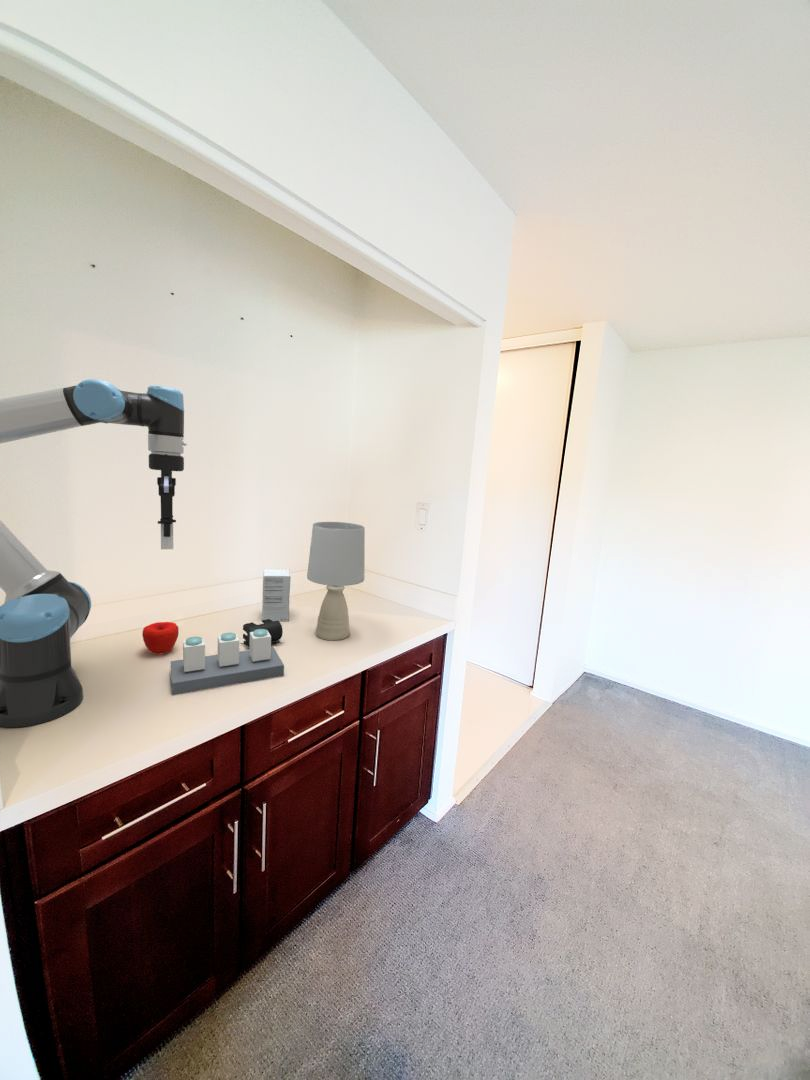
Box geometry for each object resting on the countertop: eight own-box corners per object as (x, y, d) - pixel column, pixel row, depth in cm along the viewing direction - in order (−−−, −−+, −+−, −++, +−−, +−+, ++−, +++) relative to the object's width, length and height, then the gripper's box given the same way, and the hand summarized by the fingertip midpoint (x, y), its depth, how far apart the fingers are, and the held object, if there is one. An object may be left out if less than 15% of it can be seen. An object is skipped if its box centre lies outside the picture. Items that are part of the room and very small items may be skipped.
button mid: (219, 666, 108) (219, 639, 106) (217, 658, 111) (217, 633, 110) (238, 663, 110) (239, 637, 109) (236, 656, 114) (236, 630, 113)
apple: (167, 641, 127) (167, 616, 125) (185, 650, 122) (185, 624, 121) (136, 651, 119) (135, 625, 118) (153, 661, 115) (153, 633, 113)
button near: (184, 672, 103) (184, 644, 102) (183, 663, 107) (183, 637, 106) (204, 668, 106) (205, 641, 105) (203, 661, 110) (203, 634, 108)
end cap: (251, 652, 125) (252, 630, 124) (241, 643, 130) (241, 622, 129) (282, 643, 132) (283, 623, 131) (271, 636, 137) (272, 616, 136)
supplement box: (262, 612, 156) (263, 568, 153) (288, 612, 159) (289, 568, 156) (261, 622, 147) (262, 575, 144) (289, 621, 150) (290, 575, 147)
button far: (252, 661, 112) (253, 635, 110) (249, 654, 115) (249, 629, 114) (270, 658, 114) (271, 633, 113) (266, 651, 118) (267, 627, 117)
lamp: (294, 639, 136) (298, 525, 129) (319, 620, 153) (324, 519, 147) (348, 649, 131) (356, 532, 125) (367, 629, 149) (375, 525, 143)
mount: (172, 695, 100) (171, 663, 98) (170, 671, 110) (170, 642, 108) (283, 675, 113) (284, 647, 111) (273, 656, 123) (273, 630, 122)
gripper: (184, 455, 99) (184, 554, 103) (183, 454, 111) (183, 543, 115) (146, 452, 96) (148, 554, 100) (150, 452, 107) (151, 543, 111)
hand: (167, 548), depth 107 cm, fingers closed
